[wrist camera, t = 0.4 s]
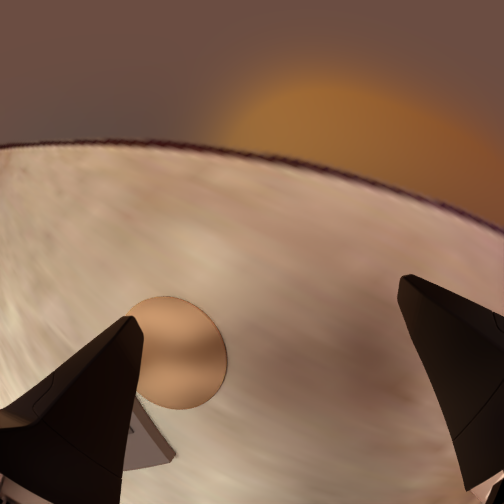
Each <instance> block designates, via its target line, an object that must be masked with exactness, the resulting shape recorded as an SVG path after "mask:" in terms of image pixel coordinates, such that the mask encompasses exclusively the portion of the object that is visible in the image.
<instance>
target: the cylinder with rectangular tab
mask: <svg viewBox="0 0 504 504" xmlns="http://www.w3.org/2000/svg"><path fill="white" fill-rule="evenodd" d="M503 477H504V473H503V470H502V471H500V472H499V473H497V474H496V475H494V476H493V477H491V478H490V479H488V480H486V481H485V482H483V483H481V484H480V485H478V486H476V487H474V488H473V489H471V490H470V491H471V492H472V493H473V494H474V495H475V496H476V497H477V498H478V499H479V500H480V501H481V502H482V503H483V504H485V503H486V500H487V498H488V496H489V494H490V491H491V489H492V487H493V485H494V484H495V483H497V482H498V481H499V480H501V479H502V478H503Z"/></svg>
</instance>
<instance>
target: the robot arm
mask: <svg viewBox="0 0 504 504" xmlns="http://www.w3.org/2000/svg"><path fill="white" fill-rule="evenodd" d="M397 300H398V304H399V307H400V309H401V312H402V314H403V317H404V320H405V323H406V325H407V328H408V331H409V334H410V336H411V339H412V341H413V344H414V346H415V348H416V350H417V352H418V354H419V356H420V359H421V361H422V363H423V365H424V368H425V370H426V372H427V375H428V377H429V379H430V382H431V384H432V387H433V389H434V391H435V394H436V397H437V399H438V402H439V404H440V407H441V410H442V412H443V415H444V418H445V421H446V424H447V426H448V429H449V432H450V435H451V438H452V441H453V445H454V449H455V452H456V455H457V459H458V462H459V466H460V470H461V474H462V478H463V482H464V486H465V490H466V492H467V491H469V490H471V489H473V488H474V487H476V486H478V485H480V484H481V483H483V482H485V481H486V480H488V479H490V478H491V477H493V476H494V475H496V474H497V473H499V472H500V471H502V470H503V473H504V317H503V316H501V315H499V314H497V313H495V312H493V313H492V311H491V310H489V309H487V308H485V307H483V306H481V305H479V304H477V303H475V302H472V301H470V300H468V299H466V298H464V297H462V296H460V295H458V294H455V293H453V292H451V291H449V290H447V289H445V288H442V287H440V286H438V285H436V284H433V283H431V282H429V281H427V280H424V279H422V278H420V277H418V276H415V275H413V274H409V275H404V276H402V277H401V278H400V282H399V289H398V295H397ZM143 344H144V334H143V332H142V330H141V328H140V326H139V324H138V322H137V320H136V318H135V317H134V316H123V317H121V318H120V319H119V320H117V321H116V322H115V323H113V324H112V325H111V326H110V327H108V328H107V329H106V330H104V331H103V332H102V333H101V334H99V335H98V336H97V337H96V338H94V339H93V340H92V341H91V342H89V343H88V344H87V345H85V346H84V347H83V348H82V349H80V350H79V351H78V352H77V353H75V354H74V355H73V356H72V357H70V358H69V359H68V360H67V361H66V362H64V363H63V364H62V365H61V366H59V367H58V368H57V369H56V370H55V371H53V372H52V373H51V374H50V375H48V376H47V377H46V378H45V379H43V380H42V381H41V382H40V383H38V384H37V385H36V386H34V387H33V388H32V389H30V390H29V391H28V392H26V393H25V394H23V395H22V396H21V397H19V398H18V399H17V400H15V401H14V402H12V403H11V404H10V405H8V406H7V407H5V408H3V409H0V504H120V494H121V484H122V479H121V478H122V474H123V466H124V459H125V452H126V445H127V439H128V433H129V427H130V421H131V416H132V410H133V405H134V400H135V395H136V390H137V386H138V381H139V376H140V369H141V360H142V352H143ZM485 504H504V477H503V478H502V479H501V480H499V481H498V482H497V483H495V484H494V485H493V487H492V489H491V491H490V494H489V496H488V498H487V500H486V503H485Z"/></svg>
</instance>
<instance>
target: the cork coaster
mask: <svg viewBox="0 0 504 504" xmlns="http://www.w3.org/2000/svg"><path fill="white" fill-rule="evenodd" d="M126 316H134V317H135V318H136V320H137V322H138V324H139V326H140V328H141V330H142V332H143V334H144V344H143V352H142V360H141V369H140V376H139V381H138V386H137V390H136V391H137V392H138V393H139V394H141V395H142V396H143V397H144V398H146V399H147V400H149V401H150V402H152V403H154V404H156V405H159V406H162V407H165V408H169V409H177V410H180V409H190V408H194V407H197V406H199V405H201V404H203V403H205V402H206V401H208V400H209V399H210V398H211V397H212V396H213V395H214V394H215V393H216V392H217V390H218V389H219V387H220V386H221V384H222V382H223V379H224V376H225V372H226V366H227V357H226V350H225V345H224V342H223V339H222V337H221V335H220V333H219V331H218V329H217V328H216V326H215V324H214V323H213V322H212V321H211V319H210V318H209V317H208V316H207V315H206V314H205V313H204V312H203V311H201V310H200V309H199V308H197V307H196V306H194V305H192V304H191V303H189V302H187V301H184V300H182V299H178V298H174V297H155V298H150V299H147V300H144V301H142V302H140V303H138V304H137V305H135V306H134V307H133V308H132V309H131V310H130V311H129V312H128V313H127V314H126Z"/></svg>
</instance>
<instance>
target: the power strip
mask: <svg viewBox="0 0 504 504" xmlns="http://www.w3.org/2000/svg"><path fill="white" fill-rule="evenodd" d="M175 455H176V453H175V452H174V451H173V450H172V448H171V447H170V446H169V444H168V443H167V442H166V440H165V439H164V438H163V436H162V435H161V434H160V432H159V431H158V429H157V428H156V427H155V425H154V424H153V422H152V421H151V419H150V418H149V416H148V415H147V413H146V412H145V410H144V409H143V407H142V406H141V404H140V403H139V401H138V399H137V398H136V396H135V400H134V405H133V410H132V416H131V421H130V427H129V433H128V439H127V445H126V452H125V459H124V466H123V471H128V470H135V469H141V468H146V467H152V466H157V465H162V464H166V463H170V462H171V461H172V459H173V458H174V456H175Z"/></svg>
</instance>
